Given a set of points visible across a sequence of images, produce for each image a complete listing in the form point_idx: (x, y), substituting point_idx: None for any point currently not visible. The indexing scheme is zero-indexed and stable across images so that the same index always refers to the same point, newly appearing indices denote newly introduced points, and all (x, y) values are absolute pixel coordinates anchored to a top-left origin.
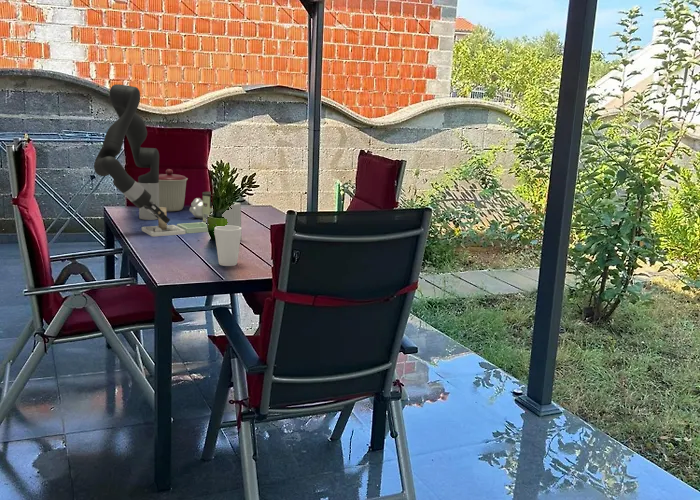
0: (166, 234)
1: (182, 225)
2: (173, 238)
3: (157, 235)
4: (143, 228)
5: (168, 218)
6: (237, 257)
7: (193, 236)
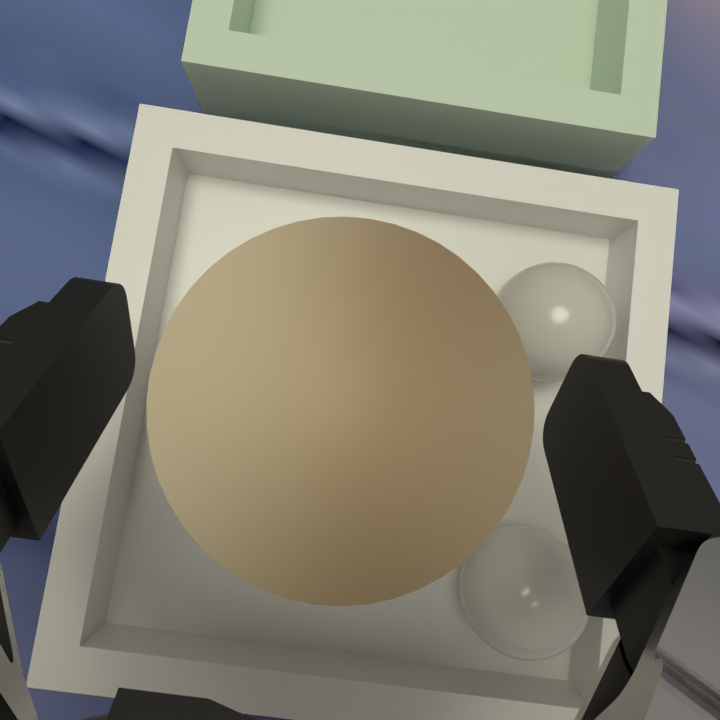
0: None
1: (361, 54)
2: None
3: None
4: None
5: (634, 389)
6: None
7: (675, 137)
